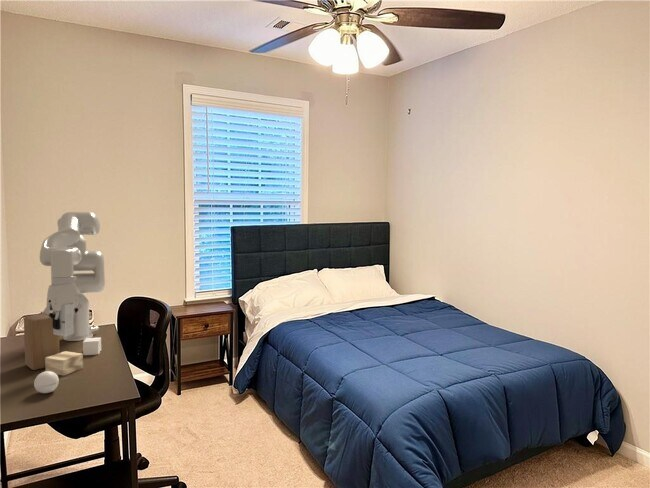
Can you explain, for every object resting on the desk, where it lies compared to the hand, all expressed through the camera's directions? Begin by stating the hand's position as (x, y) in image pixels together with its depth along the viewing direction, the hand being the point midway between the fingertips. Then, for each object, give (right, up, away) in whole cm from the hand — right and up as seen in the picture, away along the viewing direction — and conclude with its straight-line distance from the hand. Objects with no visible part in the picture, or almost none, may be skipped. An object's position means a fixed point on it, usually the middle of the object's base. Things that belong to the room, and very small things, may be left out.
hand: (63, 327), depth 177 cm
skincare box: (0, -3, 0) cm, 3 cm away
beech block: (0, -17, +1) cm, 17 cm away
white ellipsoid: (+7, -19, -20) cm, 28 cm away
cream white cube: (-1, -16, +23) cm, 28 cm away
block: (-12, -17, +7) cm, 22 cm away
